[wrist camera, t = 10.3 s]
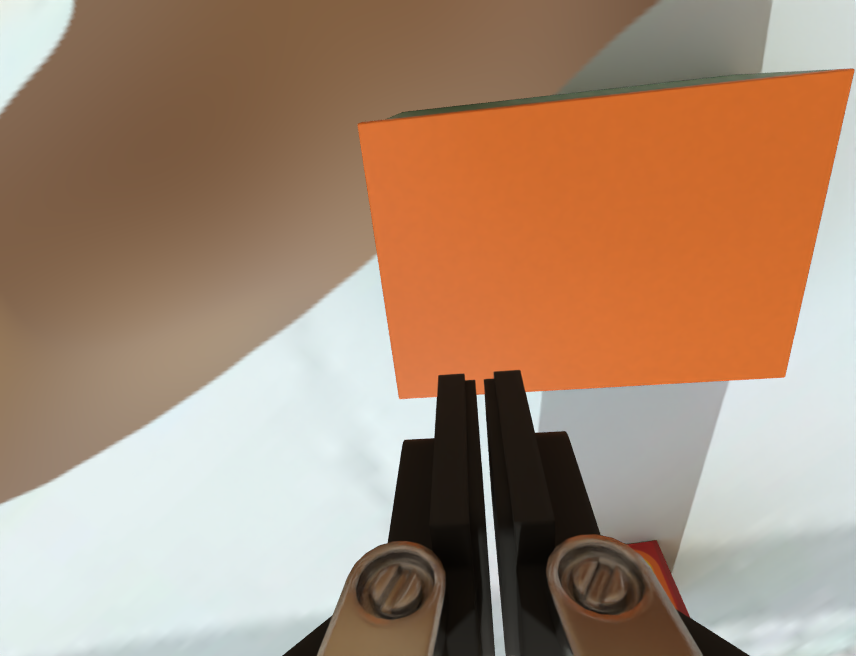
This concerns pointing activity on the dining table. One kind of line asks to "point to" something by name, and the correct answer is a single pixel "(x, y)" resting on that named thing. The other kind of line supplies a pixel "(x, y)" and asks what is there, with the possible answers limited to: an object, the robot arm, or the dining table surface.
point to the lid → (603, 233)
